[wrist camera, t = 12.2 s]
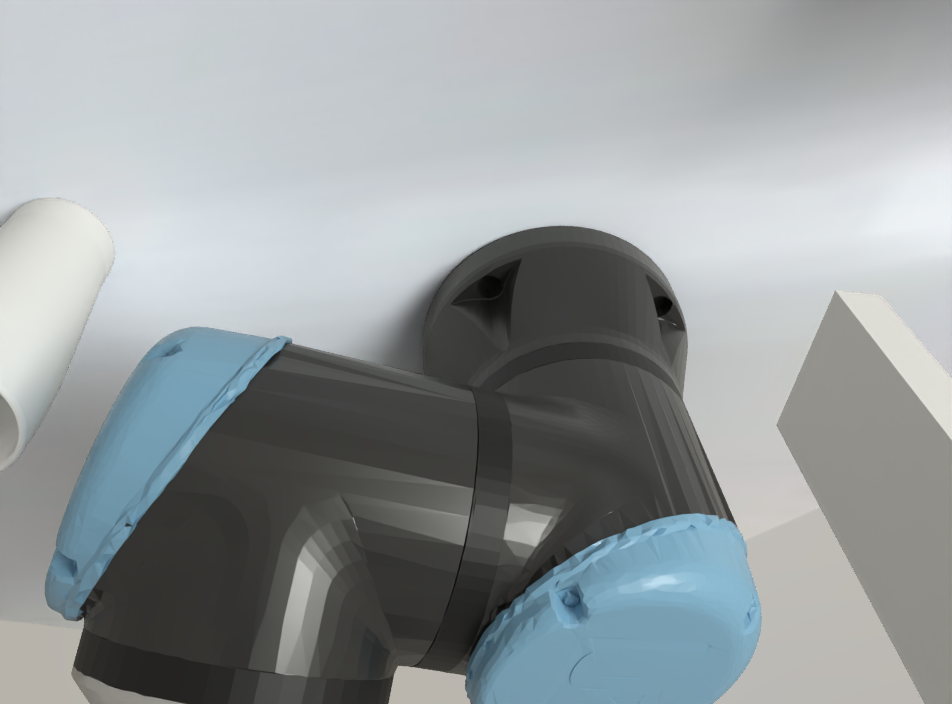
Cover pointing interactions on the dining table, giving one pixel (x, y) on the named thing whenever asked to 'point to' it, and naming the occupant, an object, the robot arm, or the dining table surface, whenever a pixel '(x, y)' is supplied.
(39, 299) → the drinking glass
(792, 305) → the dining table surface
